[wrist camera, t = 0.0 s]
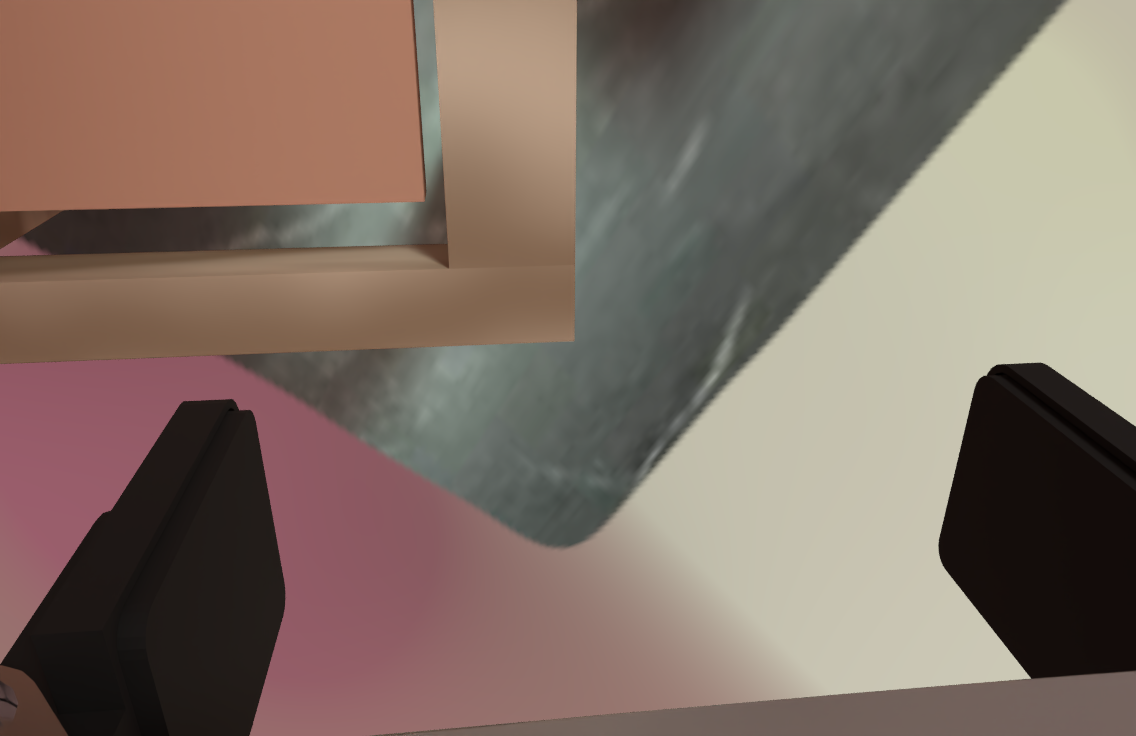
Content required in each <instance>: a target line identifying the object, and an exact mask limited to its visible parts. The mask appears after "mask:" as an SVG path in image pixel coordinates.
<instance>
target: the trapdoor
mask: <svg viewBox="0 0 1136 736" xmlns="http://www.w3.org/2000/svg"><path fill="white" fill-rule="evenodd" d="M425 196H426V178H425V164H424V149H423V135H422V120H421V106H420V91H419V77H418V62H417V48H416V33H415V19H414V4H413V0H0V211H42V210H85V209H128V208H171V207H214V206H257V205H299V204H342V203H385V202H425Z"/></svg>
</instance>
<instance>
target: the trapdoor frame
mask: <svg viewBox="0 0 1136 736" xmlns="http://www.w3.org/2000/svg"><path fill="white" fill-rule="evenodd" d="M433 4H434V21H435V37H436V54H437V71H438V88H439V105H440V121H441V138H442V155H443V172H444V188H445V205H446V222H447V239H448V244H423V245H388V246H352V247H317V248H281V249H246V250H210V251H175V252H139V253H104V254H68V255H33V256H0V364H8V363H9V364H11V363H35V362H61V361H85V360H111V359H136V358H161V357H186V356H211V355H236V354H261V353H286V352H312V351H337V350H362V349H387V348H412V347H437V346H462V345H487V344H512V343H537V342H562V341H574V321H575V187H576V53H577V0H433ZM61 211H63V210H42V211H0V249H1V248H3V247H4V246H6V245H8V244H9V243H11V242H12V241H14V240H16V239H17V238H19V237H21V236H22V235H24V234H26V233H27V232H29V231H30V230H32V229H34V228H35V227H37V226H39V225H40V224H42V223H44V222H45V221H47V220H48V219H50V218H52V217H53V216H55V215H57V214H58V213H60V212H61Z"/></svg>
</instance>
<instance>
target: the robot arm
mask: <svg viewBox="0 0 1136 736" xmlns="http://www.w3.org/2000/svg"><path fill="white" fill-rule="evenodd" d="M939 555H940V559H941V562H942V564H943V566H944V568H945V569H946V571H947V572H948V573H949V575H950V576H951V577H952V578H953V580H954V581H955V582H956V584H957V585H958V586H959V587H960V588H961V590H962V591H963V592H964V594H965V595H966V596H967V597H968V599H969V600H970V601H971V603H972V604H973V605H974V606H975V607H976V609H977V610H978V611H979V613H980V614H981V615H982V616H983V618H984V619H985V620H986V622H987V623H988V624H989V625H990V627H991V628H992V629H993V630H994V632H995V633H996V634H997V636H998V637H999V638H1000V639H1001V641H1002V642H1003V643H1004V644H1005V646H1006V647H1007V648H1008V650H1009V651H1010V652H1011V653H1012V655H1013V656H1014V657H1015V658H1016V660H1017V661H1018V662H1019V664H1020V665H1021V666H1022V667H1023V669H1024V670H1025V671H1026V672H1027V674H1028V675H1029V676H1030V677H1031V679H1022V680H1009V681H998V682H985V683H972V684H960V685H948V686H936V687H924V688H912V689H899V690H887V691H875V692H863V693H851V694H839V695H828V696H817V697H804V698H793V699H781V700H770V701H758V702H746V703H735V704H723V705H712V706H700V707H688V708H677V709H665V710H654V711H641V712H630V713H619V714H607V715H595V716H584V717H574V718H563V719H553V720H541V721H529V722H518V723H507V724H496V725H485V726H473V727H462V728H451V729H440V730H430V731H429V730H428V731H417V732H406V733H395V734H384V735H372V736H1136V426H1134V425H1132V424H1131V423H1130V422H1128V421H1127V420H1125V419H1124V418H1123V417H1121V416H1120V415H1118V414H1117V413H1115V412H1114V411H1112V410H1111V409H1109V408H1108V407H1107V406H1105V405H1104V404H1102V403H1101V402H1100V401H1098V400H1097V399H1095V398H1094V397H1092V396H1091V395H1089V394H1088V393H1087V392H1085V391H1084V390H1082V389H1081V388H1079V387H1078V386H1076V385H1075V384H1074V383H1072V382H1071V381H1069V380H1068V379H1066V378H1065V377H1064V376H1062V375H1061V374H1059V373H1058V372H1056V371H1055V370H1053V369H1052V368H1051V367H1049V366H1048V365H1045V364H1043V363H1023V364H1001V365H996V366H994V367H993V368H991V370H990V371H989V372H988V374H987V376H983V377H981V378H980V379H979V380H978V382H977V384H976V386H975V389H974V393H973V398H972V402H971V406H970V410H969V415H968V419H967V423H966V427H965V432H964V436H963V440H962V444H961V449H960V453H959V458H958V462H957V466H956V470H955V474H954V478H953V483H952V487H951V491H950V495H949V500H948V504H947V508H946V512H945V517H944V521H943V525H942V529H941V534H940V538H939ZM284 608H285V584H284V578H283V573H282V567H281V561H280V556H279V550H278V545H277V539H276V533H275V527H274V522H273V516H272V511H271V505H270V499H269V494H268V488H267V483H266V477H265V471H264V466H263V461H262V454H261V449H260V443H259V438H258V432H257V427H256V421H255V417H254V415H253V413H252V411H251V410H240V411H239V409H238V407H237V405H236V402H235V401H234V400H232V399H228V400H206V401H184V402H183V403H181V404H180V406H179V407H178V409H177V410H176V412H175V414H174V415H173V416H172V418H171V419H170V421H169V422H168V424H167V426H166V427H165V429H164V430H163V432H162V433H161V435H160V437H159V438H158V439H157V441H156V442H155V444H154V446H153V447H152V449H151V450H150V452H149V453H148V455H147V456H146V458H145V460H144V461H143V463H142V464H141V466H140V467H139V469H138V470H137V472H136V473H135V475H134V477H133V478H132V480H131V481H130V482H129V484H128V486H127V487H126V489H125V490H124V492H123V493H122V495H121V496H120V498H119V500H118V501H117V503H116V504H115V506H114V507H113V509H112V510H111V511H108V512H105V513H103V514H102V515H101V516H100V517H99V518H98V519H97V520H96V521H95V523H94V524H93V526H92V527H91V529H90V531H89V532H88V533H87V535H86V536H85V538H84V539H83V541H82V543H81V544H80V545H79V547H78V548H77V550H76V551H75V553H74V555H73V556H72V557H71V559H70V560H69V562H68V564H67V565H66V566H65V568H64V569H63V571H62V572H61V574H60V575H59V577H58V578H57V580H56V582H55V583H54V585H53V586H52V588H51V589H50V591H49V592H48V594H47V595H46V597H45V598H44V600H43V601H42V603H41V604H40V606H39V607H38V609H37V610H36V612H35V613H34V615H33V616H32V618H31V619H30V621H29V622H28V624H27V625H26V627H25V628H24V630H23V631H22V633H21V634H20V636H19V637H18V639H17V640H16V642H15V643H14V645H13V646H12V648H11V649H10V651H9V652H8V654H7V655H6V657H5V658H4V660H3V661H2V663H1V664H0V736H249V735H250V732H251V728H252V725H253V721H254V717H255V714H256V711H257V707H258V703H259V699H260V696H261V693H262V689H263V686H264V682H265V679H266V675H267V671H268V668H269V664H270V661H271V657H272V653H273V650H274V647H275V643H276V639H277V636H278V632H279V629H280V625H281V622H282V618H283V614H284Z"/></svg>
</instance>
